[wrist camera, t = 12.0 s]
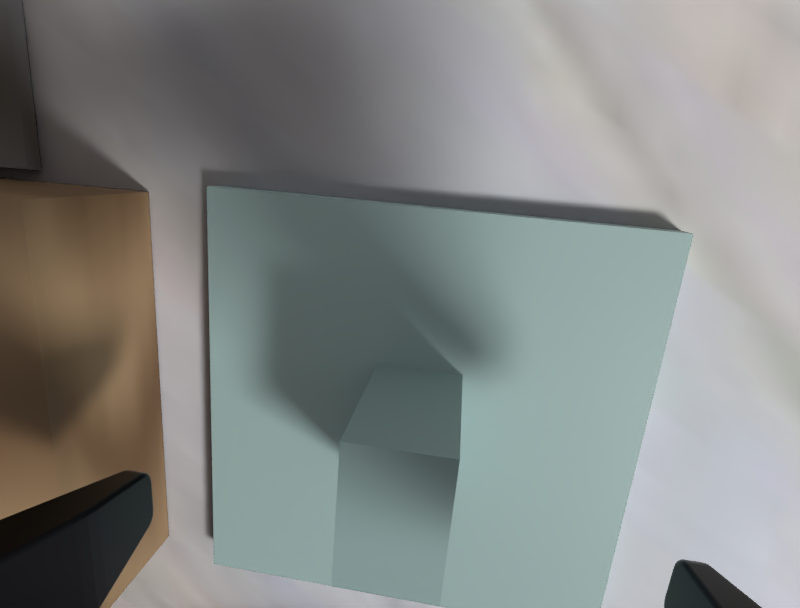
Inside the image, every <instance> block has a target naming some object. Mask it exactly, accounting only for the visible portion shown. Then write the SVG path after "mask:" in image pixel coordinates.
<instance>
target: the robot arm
mask: <svg viewBox="0 0 800 608" xmlns="http://www.w3.org/2000/svg"><path fill="white" fill-rule="evenodd" d="M152 518H153V496H152V482H151V478H150V476H149V475H148V474H147V473H144V472H138V471H132V470H125V471H122V472H119V473H117V474H114V475H112V476H109V477H107V478H104V479H102V480H99V481H97V482H94V483H92V484H89V485H86V486H84V487H81V488H79V489H76V490H74V491H71V492H69V493H66V494H64V495H61V496H59V497H56V498H54V499H51V500H49V501H46V502H44V503H41V504H39V505H36V506H34V507H31V508H28V509H26V510H23V511H21V512H18V513H16V514H13V515H11V516H8V517H6V518H3V519H1V520H0V608H100V607H101V605H102V603H103V602H104V600H105V599H106V597H107V596H108V594H109V592H110V591H111V589H112V587H113V586H114V584H115V582H116V581H117V579H118V577H119V576H120V574H121V572H122V571H123V569H124V568H125V566H126V564H127V563H128V561H129V559H130V558H131V556H132V554H133V553H134V551H135V549H136V548H137V546H138V544H139V543H140V541H141V539H142V538H143V536H144V534H145V533H146V531H147V529H148V528H149V526H150V524H151V521H152ZM664 608H762V607H760V606H759V605H758V604H757V603H755V602H754V601H753V600H752V599H750V598H749V597H748V596H747V595H745V594H744V593H743V592H742V591H740V590H739V589H738V588H737V587H735V586H734V585H733V584H732V583H731V582H729V581H728V580H727V579H726V578H724V577H723V576H722V575H721V574H719V573H718V572H717V571H716V570H714V569H713V568H712V567H711V566H709V565H708V564H705V563H702V562H696V561H689V560H679V561H677V563H676V564H675V566H674V569H673V572H672V576H671V579H670V583H669V586H668V590H667V593H666V597H665V603H664Z"/></svg>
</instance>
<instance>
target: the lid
mask: <svg viewBox="0 0 800 608" xmlns="http://www.w3.org/2000/svg"><path fill="white" fill-rule="evenodd" d="M207 231H208V282H209V333H210V384H211V435H212V487H213V538H214V564H217V565H222V566H228V567H233V568H238V569H244V570H249V571H254V572H260V573H265V574H270V575H276V576H281V577H286V578H292V579H297V580H302V581H308V582H313V583H318V584H324V585H329V586H334V587H339V588H344V589H350V590H355V591H360V592H366V593H371V594H376V595H382V596H387V597H392V598H398V599H403V600H408V601H414V602H419V603H424V604H430V605H435V606H441V607H446V608H601V605H602V601H603V597H604V593H605V589H606V585H607V581H608V577H609V572H610V568H611V564H612V560H613V556H614V552H615V548H616V544H617V540H618V536H619V532H620V528H621V524H622V520H623V516H624V512H625V508H626V504H627V500H628V496H629V492H630V488H631V484H632V480H633V476H634V472H635V468H636V464H637V460H638V456H639V451H640V447H641V443H642V439H643V435H644V431H645V427H646V423H647V419H648V415H649V411H650V407H651V403H652V399H653V395H654V391H655V387H656V383H657V379H658V375H659V371H660V367H661V363H662V359H663V355H664V351H665V347H666V343H667V339H668V335H669V330H670V326H671V322H672V318H673V314H674V310H675V306H676V302H677V298H678V294H679V290H680V286H681V282H682V278H683V274H684V270H685V266H686V262H687V258H688V254H689V250H690V246H691V242H692V238H693V234H692V233H688V232H684V231H680V230H670V229H660V228H650V227H639V226H629V225H619V224H609V223H598V222H588V221H578V220H568V219H557V218H547V217H537V216H526V215H516V214H506V213H496V212H485V211H475V210H465V209H455V208H444V207H434V206H424V205H414V204H403V203H393V202H383V201H372V200H362V199H352V198H342V197H331V196H321V195H311V194H301V193H290V192H280V191H270V190H259V189H249V188H239V187H229V186H207Z"/></svg>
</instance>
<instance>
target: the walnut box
mask: <svg viewBox="0 0 800 608" xmlns="http://www.w3.org/2000/svg"><path fill="white" fill-rule="evenodd" d="M0 167H7V168H18V169H41V162H40V153H39V145H38V136H37V127H36V119H35V110H34V102H33V93H32V85H31V76H30V67H29V59H28V50H27V42H26V33H25V25H24V16H23V7H22V0H0ZM125 470H132V471H138V472H144V473H147V474H148V475H149V476H150V478H151V482H152V496H153V518H152V521H151V524H150V526H149V528H148V529H147V531H146V533H145V534H144V536H143V538H142V539H141V541H140V543H139V544H138V546H137V548H136V549H135V551H134V553H133V554H132V556H131V558H130V559H129V561H128V563H127V564H126V566H125V568H124V569H123V571H122V572H121V574H120V576H119V577H118V579H117V581H116V582H115V584H114V586H113V587H112V589H111V591H110V592H109V594H108V596H107V597H106V599H105V600H104V602H103V603H102V605H101V607H100V608H110V607H111V606H112V604H113V603H114V602H115V601H116V600H117V598H118V597H119V596H120V595H121V593H122V592H123V591H124V590H125V589H126V587H127V586H128V585H129V584H130V583H131V581H132V580H133V579H134V578H135V576H136V575H137V574H138V573H139V572H140V570H141V569H142V568H143V567H144V565H145V564H146V563H147V562H148V561H149V559H150V558H151V557H152V556H153V555H154V553H155V552H156V551H157V550H158V548H159V547H160V546H161V545H162V544H163V542H164V541H165V540H166V539H167V537H168V536H169V530H168V513H167V497H166V480H165V463H164V446H163V429H162V412H161V395H160V379H159V362H158V345H157V328H156V311H155V294H154V278H153V261H152V244H151V227H150V210H149V193H148V192H144V191H133V190H122V189H112V188H101V187H91V186H80V185H69V184H59V183H48V182H38V181H27V180H17V179H6V178H0V520H1V519H3V518H6V517H8V516H11V515H13V514H16V513H18V512H21V511H23V510H26V509H28V508H31V507H34V506H36V505H39V504H41V503H44V502H46V501H49V500H51V499H54V498H56V497H59V496H61V495H64V494H66V493H69V492H71V491H74V490H76V489H79V488H81V487H84V486H86V485H89V484H92V483H94V482H97V481H99V480H102V479H104V478H107V477H109V476H112V475H114V474H117V473H119V472H122V471H125Z"/></svg>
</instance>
